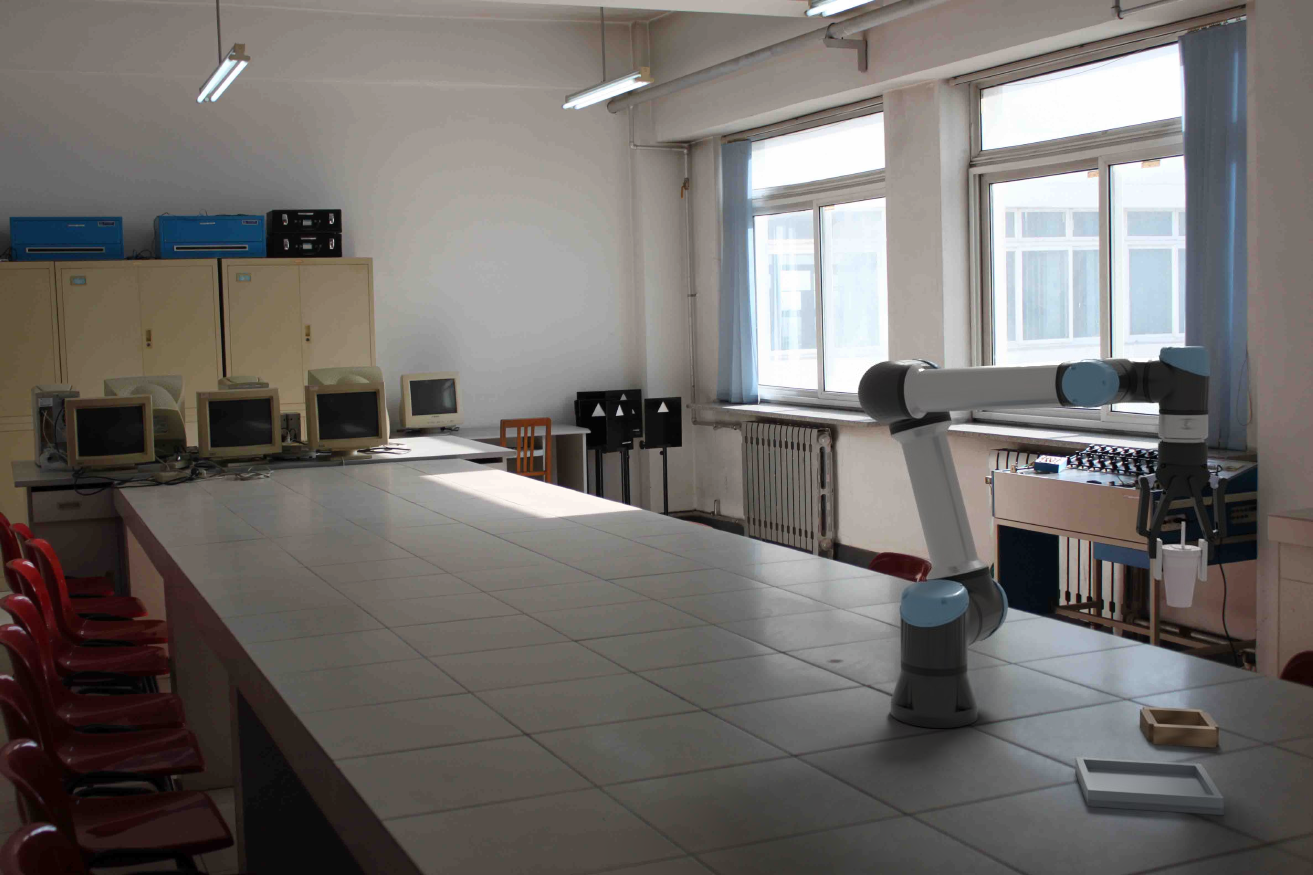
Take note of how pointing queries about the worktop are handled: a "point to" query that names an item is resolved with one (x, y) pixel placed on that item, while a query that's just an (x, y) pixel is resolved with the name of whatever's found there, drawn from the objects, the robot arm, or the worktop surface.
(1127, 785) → the tray
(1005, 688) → the worktop surface
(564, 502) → the worktop surface
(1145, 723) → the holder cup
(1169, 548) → the smoothie
